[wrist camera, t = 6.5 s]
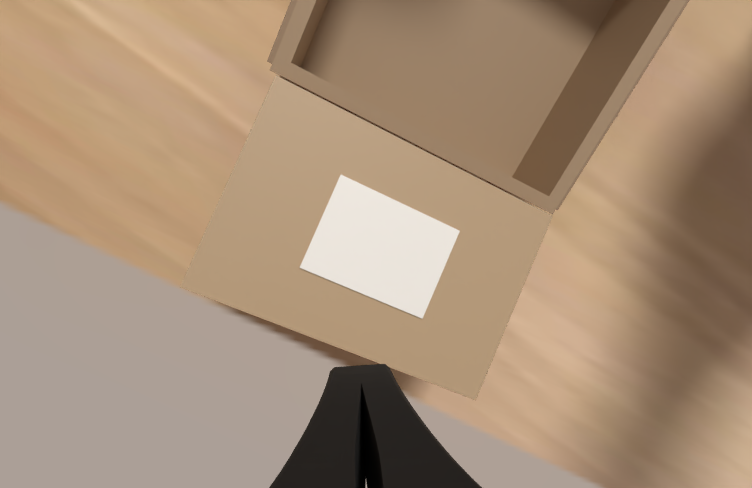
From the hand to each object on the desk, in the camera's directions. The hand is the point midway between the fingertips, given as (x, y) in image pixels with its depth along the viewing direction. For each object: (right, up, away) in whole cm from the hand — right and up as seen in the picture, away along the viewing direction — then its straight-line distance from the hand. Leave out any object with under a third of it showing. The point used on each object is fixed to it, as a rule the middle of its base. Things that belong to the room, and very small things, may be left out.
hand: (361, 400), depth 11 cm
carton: (+4, +13, +7) cm, 15 cm away
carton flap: (+1, +4, +4) cm, 5 cm away
